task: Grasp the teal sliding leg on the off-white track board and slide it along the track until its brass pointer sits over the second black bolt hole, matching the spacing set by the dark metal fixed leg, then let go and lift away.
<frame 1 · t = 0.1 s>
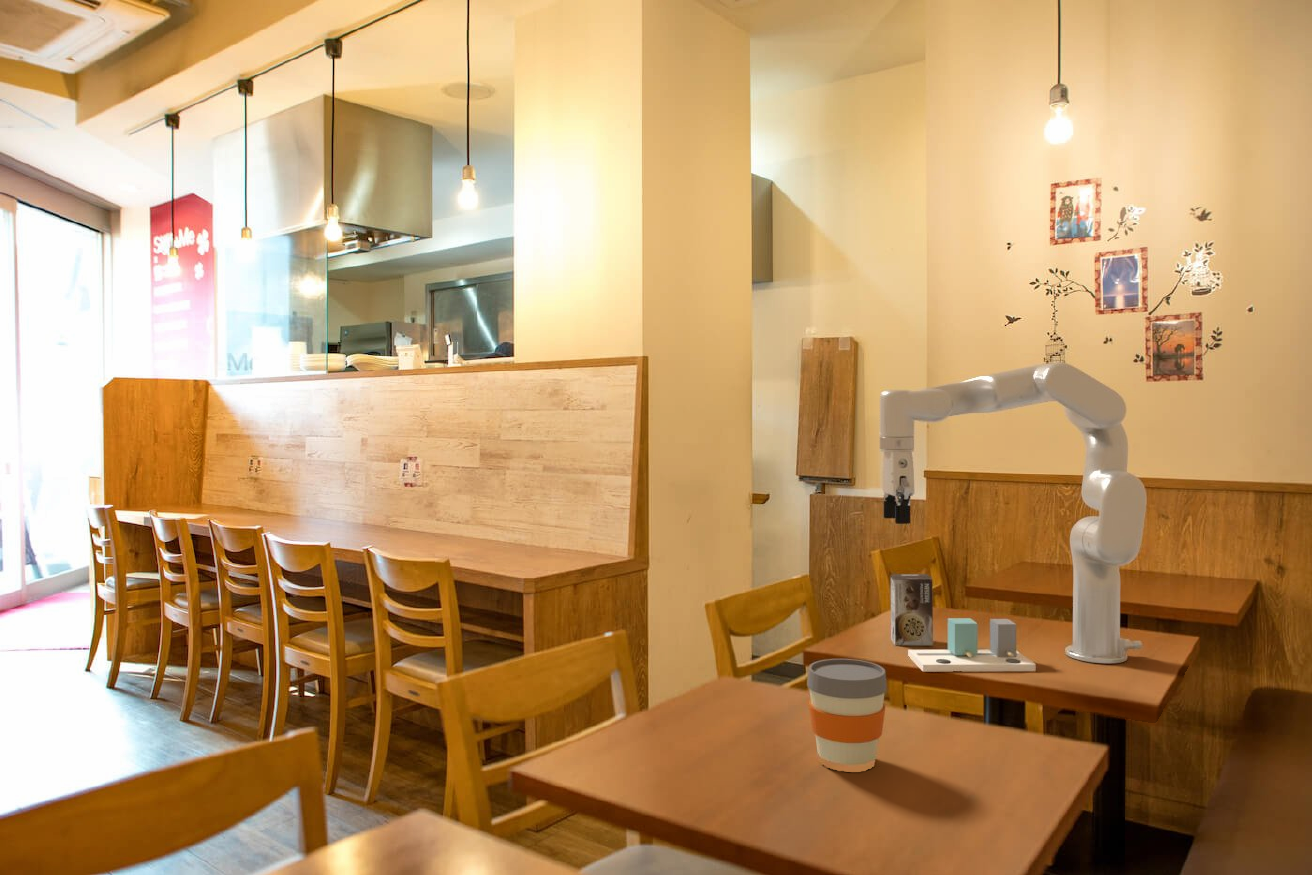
hand: (896, 520, 204), 31 cm above the table, tool pointing down, fingers open, 9 cm apart
track board: (969, 663, 200), on the table
coffee box: (911, 643, 218), on the table
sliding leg: (963, 637, 200), point 5 cm above the table, slide at 0.0 cm
reusable coffee cup: (846, 762, 145), on the table
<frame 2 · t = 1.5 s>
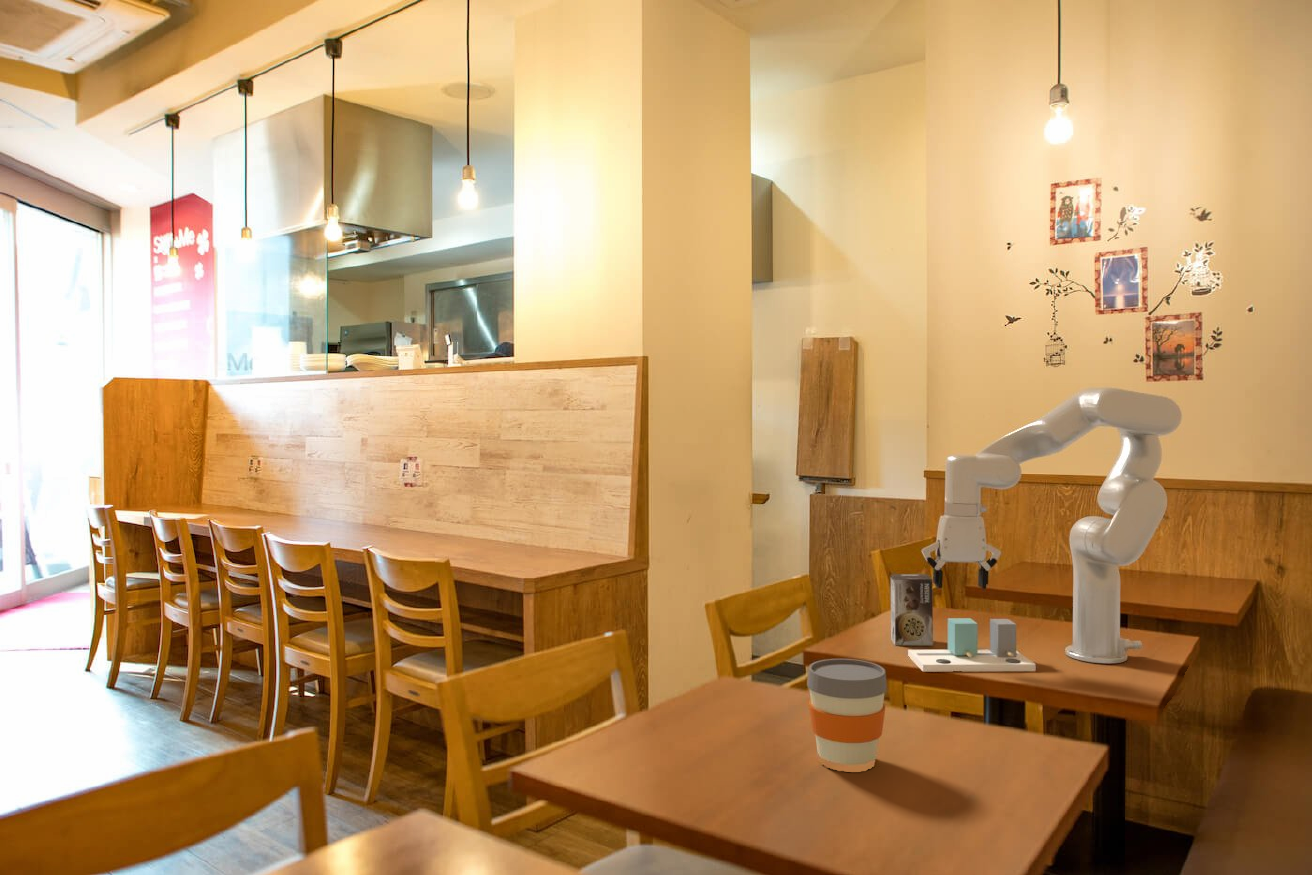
hand: (960, 587, 201), 17 cm above the table, tool pointing down, fingers open, 9 cm apart
nothing on the table moved.
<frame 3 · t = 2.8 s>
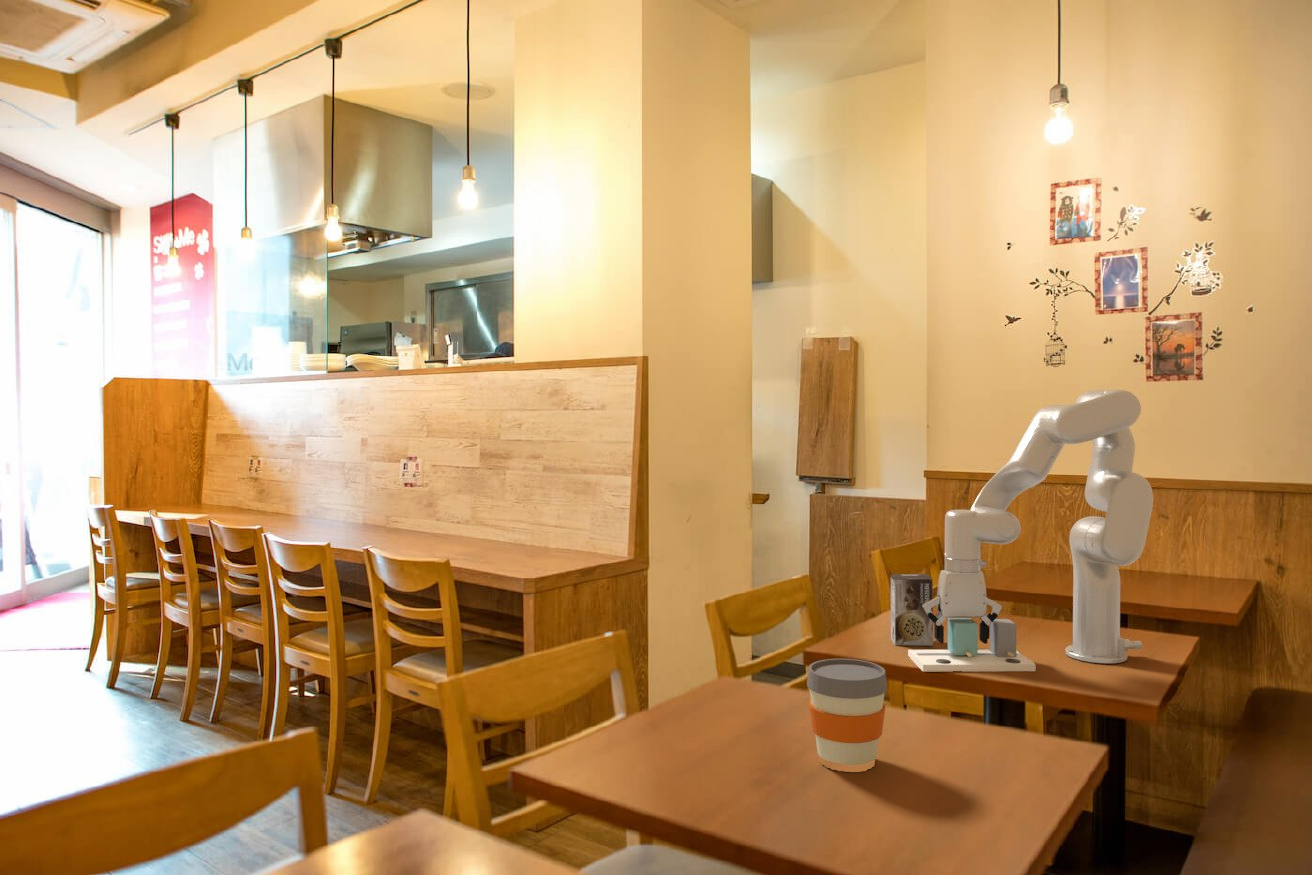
hand: (961, 642, 201), 4 cm above the table, tool pointing down, fingers open, 9 cm apart
nothing on the table moved.
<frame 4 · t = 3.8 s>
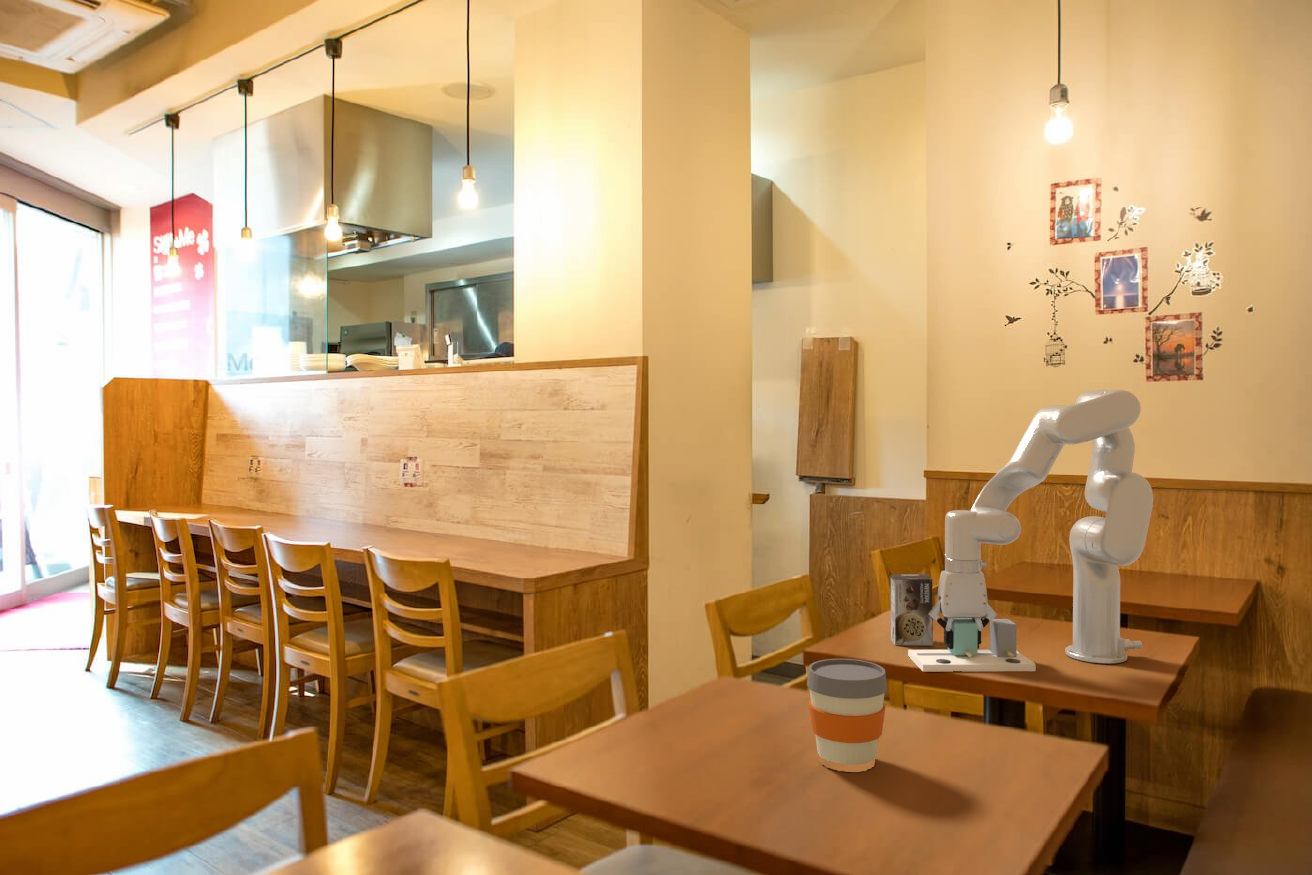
hand: (962, 646, 201), 3 cm above the table, tool pointing down, fingers closed on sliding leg, 5 cm apart
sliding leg: (963, 637, 200), point 5 cm above the table, slide at 0.0 cm, touching gripper
everything else where it was.
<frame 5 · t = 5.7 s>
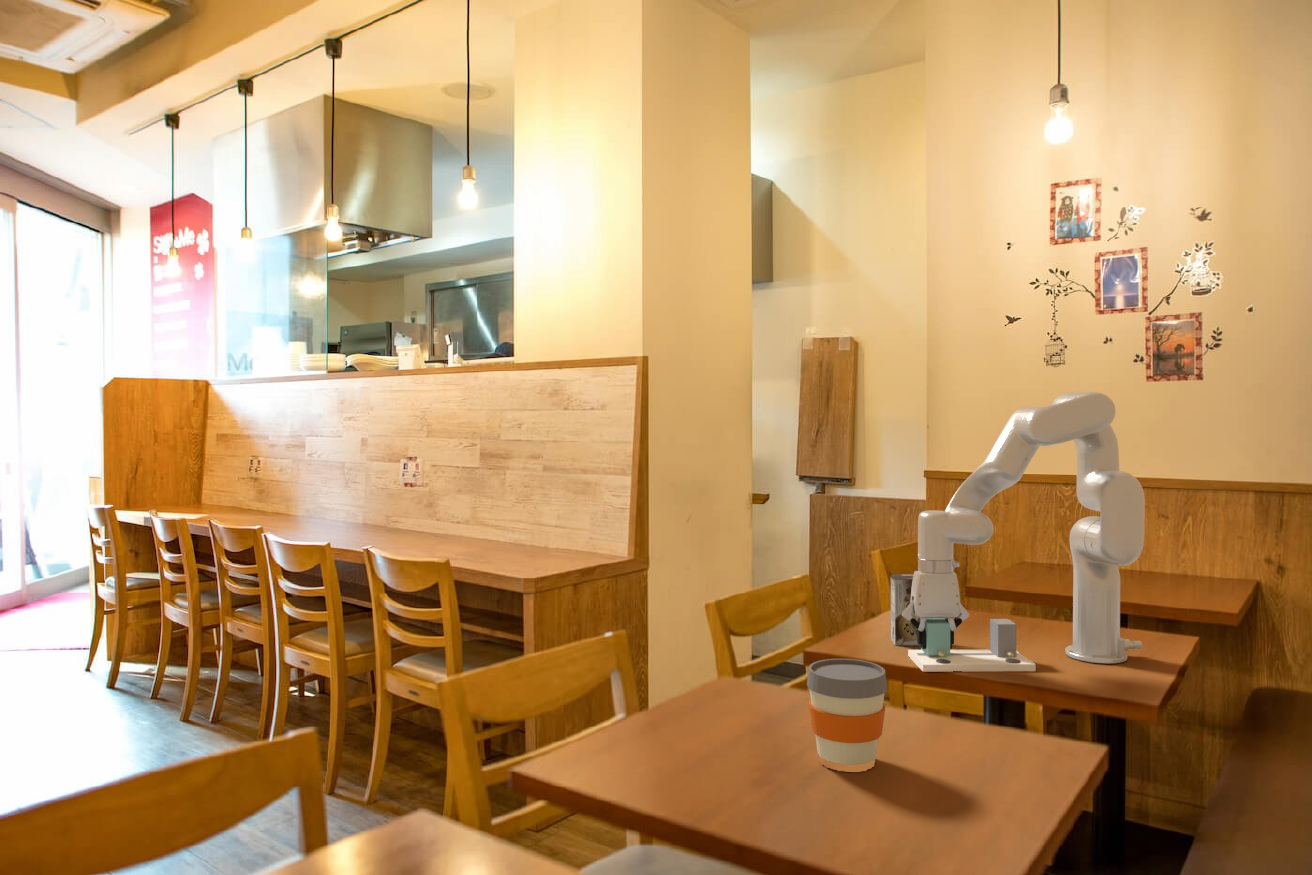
hand: (935, 646, 202), 3 cm above the table, tool pointing down, fingers closed on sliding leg, 5 cm apart
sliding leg: (936, 637, 200), point 5 cm above the table, slide at 6.0 cm, touching gripper
everything else where it was.
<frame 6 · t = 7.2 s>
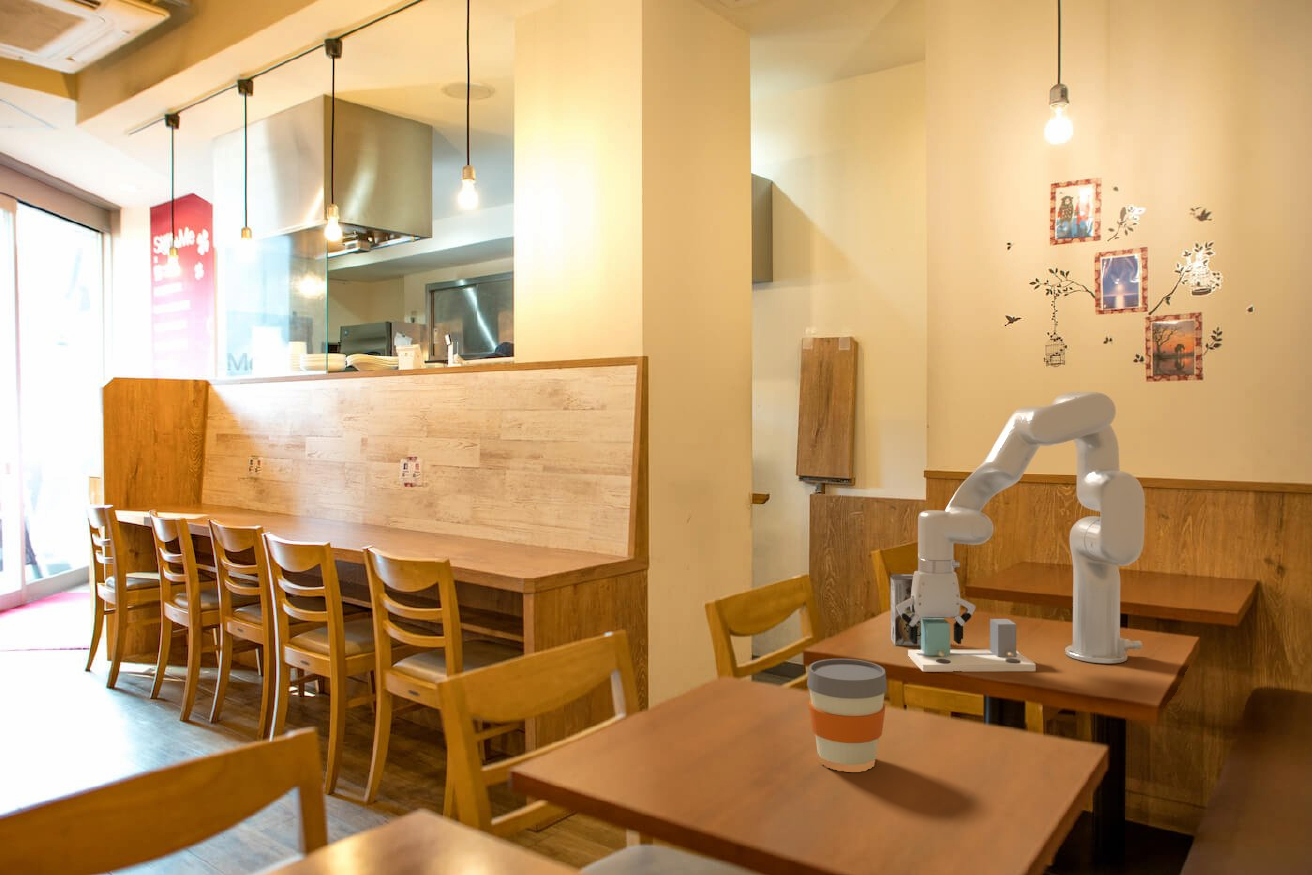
hand: (935, 642, 201), 4 cm above the table, tool pointing down, fingers open, 9 cm apart
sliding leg: (936, 637, 200), point 5 cm above the table, slide at 6.0 cm
everything else where it was.
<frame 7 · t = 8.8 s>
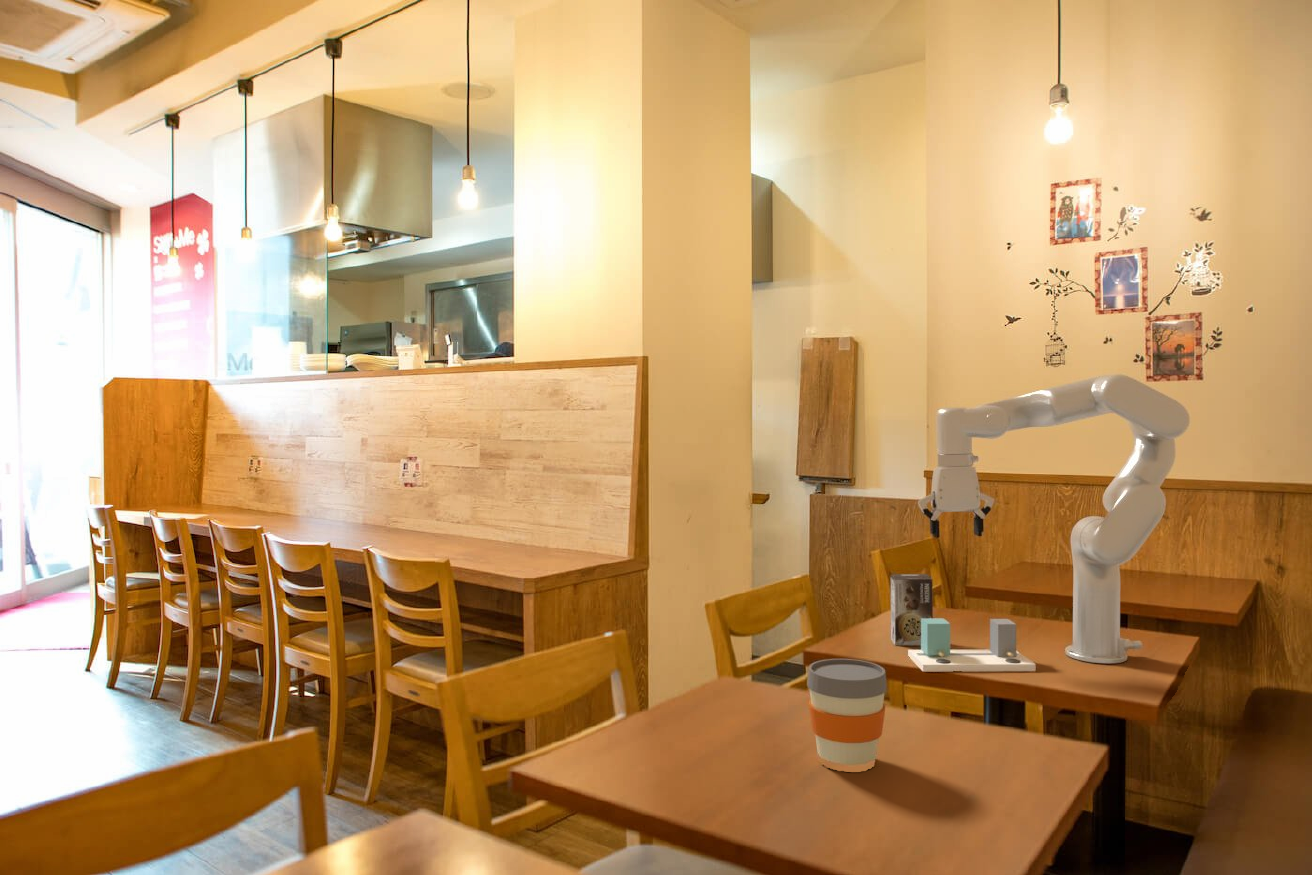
hand: (956, 536, 207), 27 cm above the table, tool pointing down, fingers open, 9 cm apart
nothing on the table moved.
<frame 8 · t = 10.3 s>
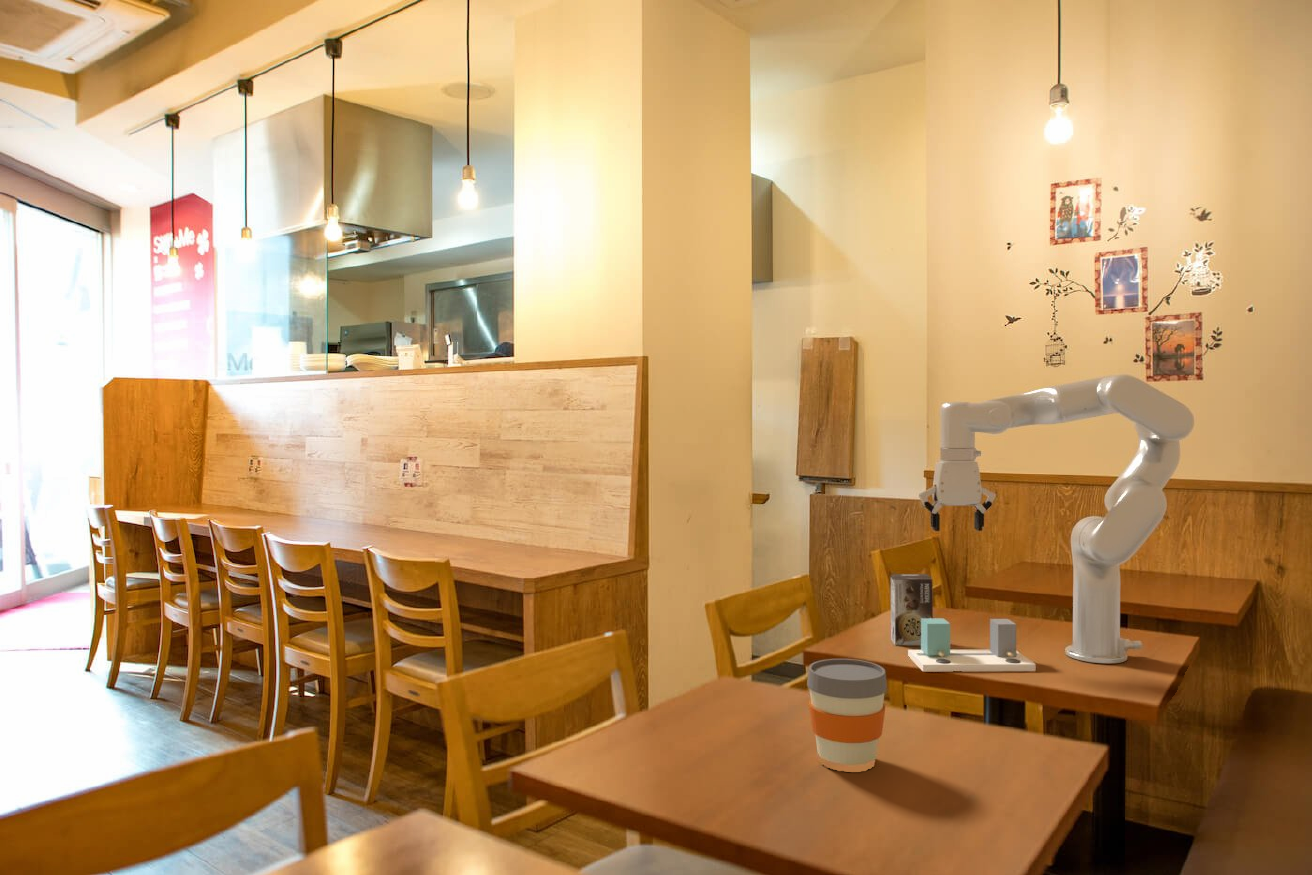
hand: (957, 530, 208), 28 cm above the table, tool pointing down, fingers open, 9 cm apart
nothing on the table moved.
at the end: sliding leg slide at 6.0 cm; the gripper is holding nothing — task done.
